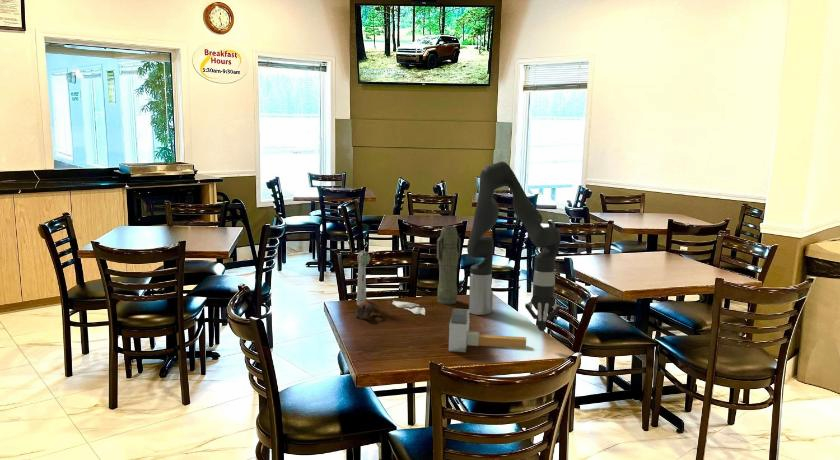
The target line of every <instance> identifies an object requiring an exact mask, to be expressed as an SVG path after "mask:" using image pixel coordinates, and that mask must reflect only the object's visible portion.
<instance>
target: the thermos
mask: <svg viewBox="0 0 840 460" xmlns="http://www.w3.org/2000/svg"><path fill="white" fill-rule="evenodd" d="M460 256H461V238H460V236H459V235H458V231H457V227H456V226H454V225H443V226H442V228H441V231H440V236H439V237H438V238H437V240H436V259H437V260H438V266H439V270H438V271H439V274H438V275H439V278H438V286H437V303H439V304H441V305H454V304H457V298H458V286H457V276H458V275H457V273H458V272H457V271H458V266H459V259H460Z"/></svg>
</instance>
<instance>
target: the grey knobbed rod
mask: <svg viewBox="0 0 840 460" xmlns="http://www.w3.org/2000/svg"><path fill="white" fill-rule="evenodd" d="M356 257H357V262H358V269H357V270H358V271H357V291H356V306H357V305H358V306H359V304H360V303H361V302H363V301H365V299H368V297H367V282H366V281H367V278H366V277H367V276H366V275H367V273H366V270H367V269H366V267H367V266H368V265H369V263H370V261H371V256H370V254H369V252H367V251H366V250H361V251H359V252H358V255H357V256H356ZM358 306H357V307H358Z"/></svg>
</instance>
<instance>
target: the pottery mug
mask: <svg viewBox="0 0 840 460" xmlns="http://www.w3.org/2000/svg"><path fill="white" fill-rule="evenodd" d="M380 308H381V305H379V304H378V303H376V302H374V301H372V300H370V299H368V298H367V299H365V301H363V302H361V303H360V304H359V306H357V309H356V313H355V316H356V317H357V318H359V319H361V320H363V319H364V318H365V319H367V318H368V319H369V318H370V316H371V314H372V312H373V310H375V311H377V312H378V314H377V316H378V317H380V314H381V309H380Z"/></svg>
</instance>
